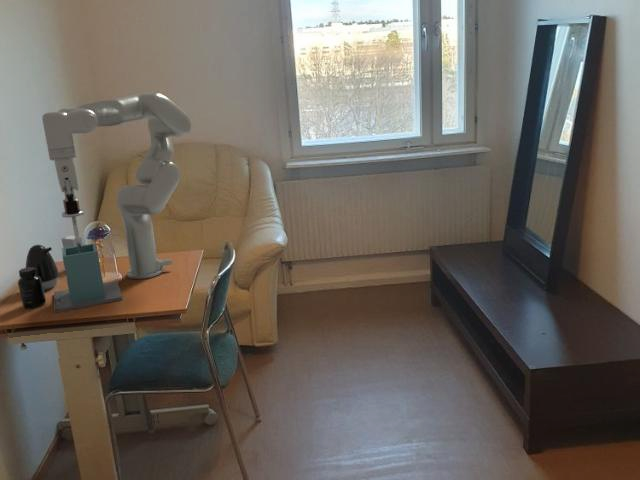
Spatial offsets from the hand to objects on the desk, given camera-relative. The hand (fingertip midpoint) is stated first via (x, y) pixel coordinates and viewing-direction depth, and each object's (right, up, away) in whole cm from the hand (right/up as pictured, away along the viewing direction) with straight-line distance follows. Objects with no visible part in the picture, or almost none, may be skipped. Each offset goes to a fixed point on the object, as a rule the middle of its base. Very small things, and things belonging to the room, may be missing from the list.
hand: (72, 211), depth 200 cm
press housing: (+2, -27, +8) cm, 28 cm away
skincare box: (-13, -19, +38) cm, 45 cm away
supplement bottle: (-14, -30, +5) cm, 33 cm away
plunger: (+1, -17, +5) cm, 18 cm away
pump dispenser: (-17, -25, +20) cm, 36 cm away
